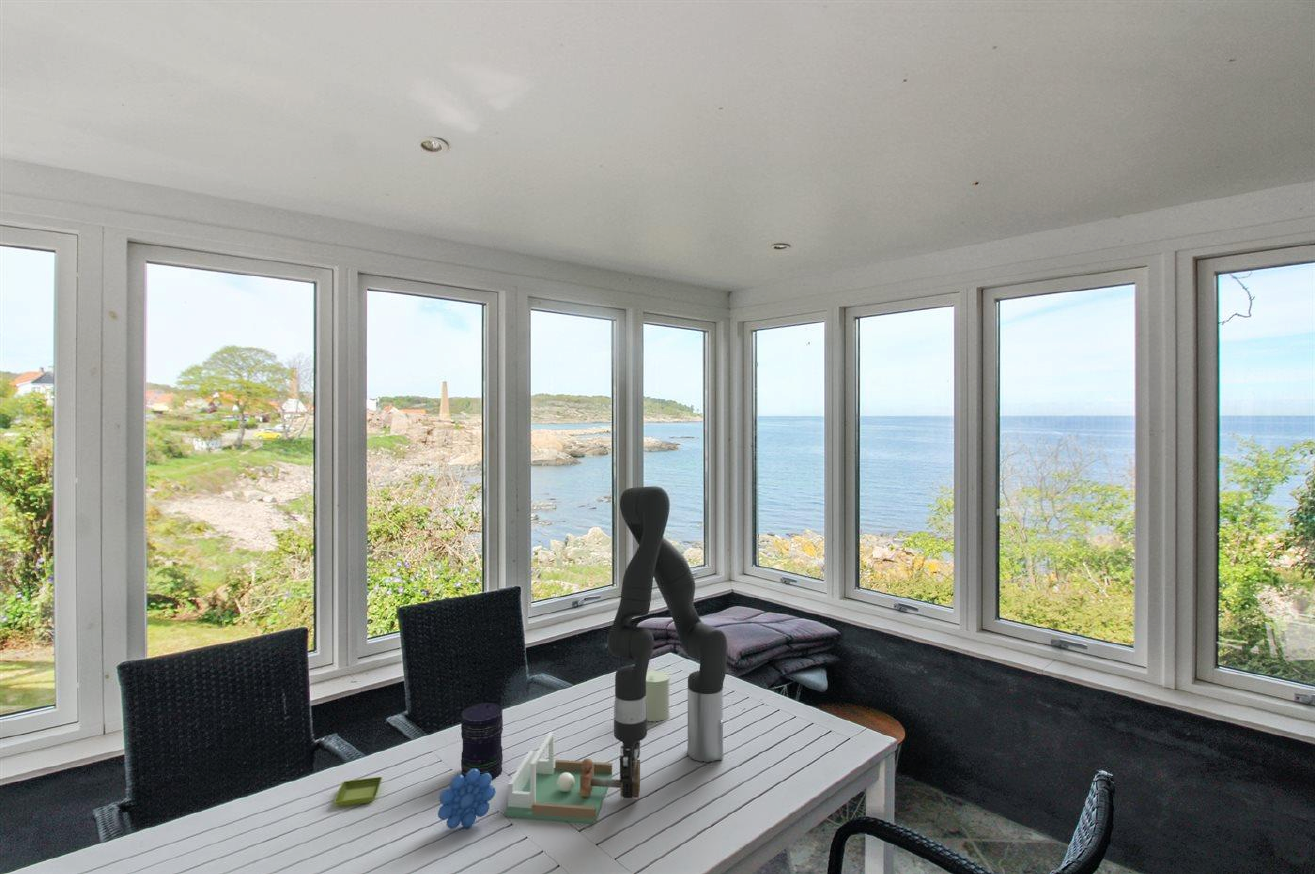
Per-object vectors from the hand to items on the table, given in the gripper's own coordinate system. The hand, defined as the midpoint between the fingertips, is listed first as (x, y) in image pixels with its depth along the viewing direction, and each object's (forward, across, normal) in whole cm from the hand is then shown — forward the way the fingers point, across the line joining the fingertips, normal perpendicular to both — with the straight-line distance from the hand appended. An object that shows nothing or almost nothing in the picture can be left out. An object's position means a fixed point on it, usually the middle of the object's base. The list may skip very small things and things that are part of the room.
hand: (630, 787), depth 141 cm
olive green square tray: (+3, -6, +62) cm, 62 cm away
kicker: (+1, 0, +5) cm, 5 cm away
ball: (0, 0, +15) cm, 15 cm away
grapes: (+3, -13, +33) cm, 36 cm away
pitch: (+3, 0, +16) cm, 16 cm away
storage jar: (+3, +7, +38) cm, 39 cm away
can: (+3, +44, 0) cm, 44 cm away
